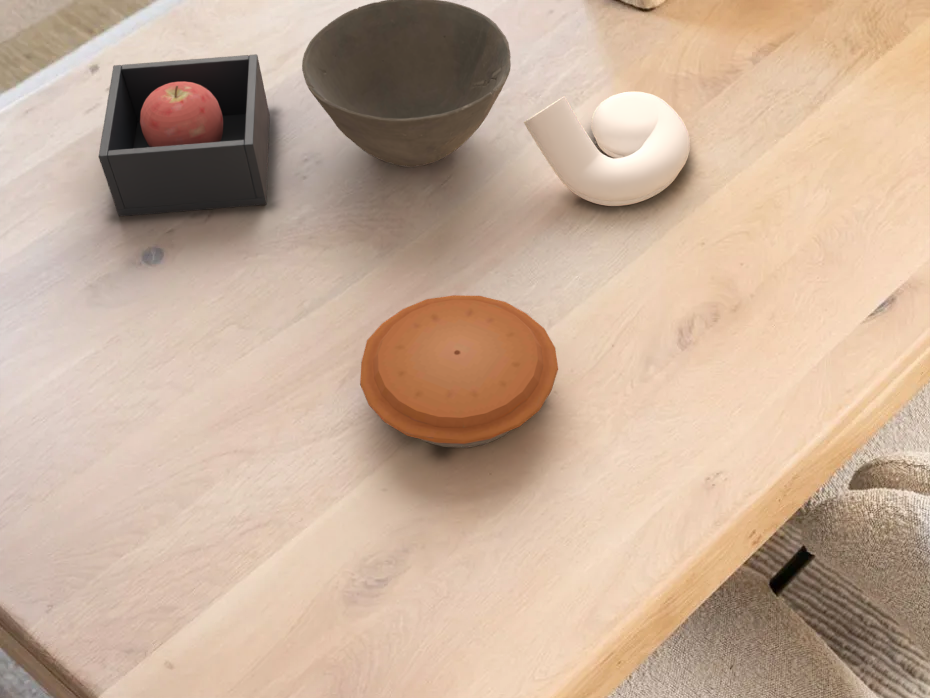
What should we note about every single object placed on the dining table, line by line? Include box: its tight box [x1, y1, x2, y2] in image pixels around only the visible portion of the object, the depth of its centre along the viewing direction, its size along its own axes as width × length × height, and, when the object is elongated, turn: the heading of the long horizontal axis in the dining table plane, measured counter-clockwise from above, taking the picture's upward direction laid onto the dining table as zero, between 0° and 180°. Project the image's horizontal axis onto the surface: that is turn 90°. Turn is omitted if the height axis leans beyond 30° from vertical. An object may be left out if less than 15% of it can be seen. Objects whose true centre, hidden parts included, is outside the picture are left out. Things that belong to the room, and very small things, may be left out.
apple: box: [140, 82, 223, 147], centre depth 114 cm, size 7×7×8 cm
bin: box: [98, 53, 270, 217], centre depth 116 cm, size 14×14×7 cm
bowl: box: [301, 0, 512, 168], centre depth 115 cm, size 19×19×10 cm
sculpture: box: [523, 91, 691, 207], centre depth 113 cm, size 12×15×8 cm
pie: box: [359, 294, 559, 449], centre depth 98 cm, size 15×16×5 cm
